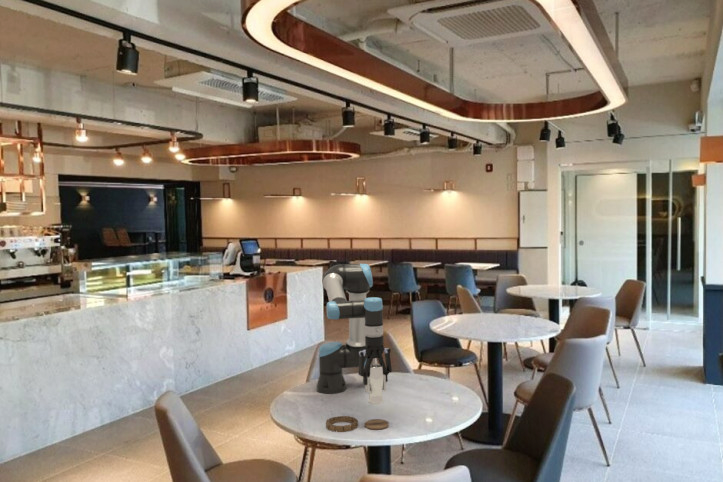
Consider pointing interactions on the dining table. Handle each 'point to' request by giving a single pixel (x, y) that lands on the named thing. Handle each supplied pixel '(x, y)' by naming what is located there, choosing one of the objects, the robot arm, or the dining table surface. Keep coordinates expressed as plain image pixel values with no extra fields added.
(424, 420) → the dining table surface
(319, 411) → the dining table surface
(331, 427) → the ring
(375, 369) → the beer glass
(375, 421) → the walnut coaster
